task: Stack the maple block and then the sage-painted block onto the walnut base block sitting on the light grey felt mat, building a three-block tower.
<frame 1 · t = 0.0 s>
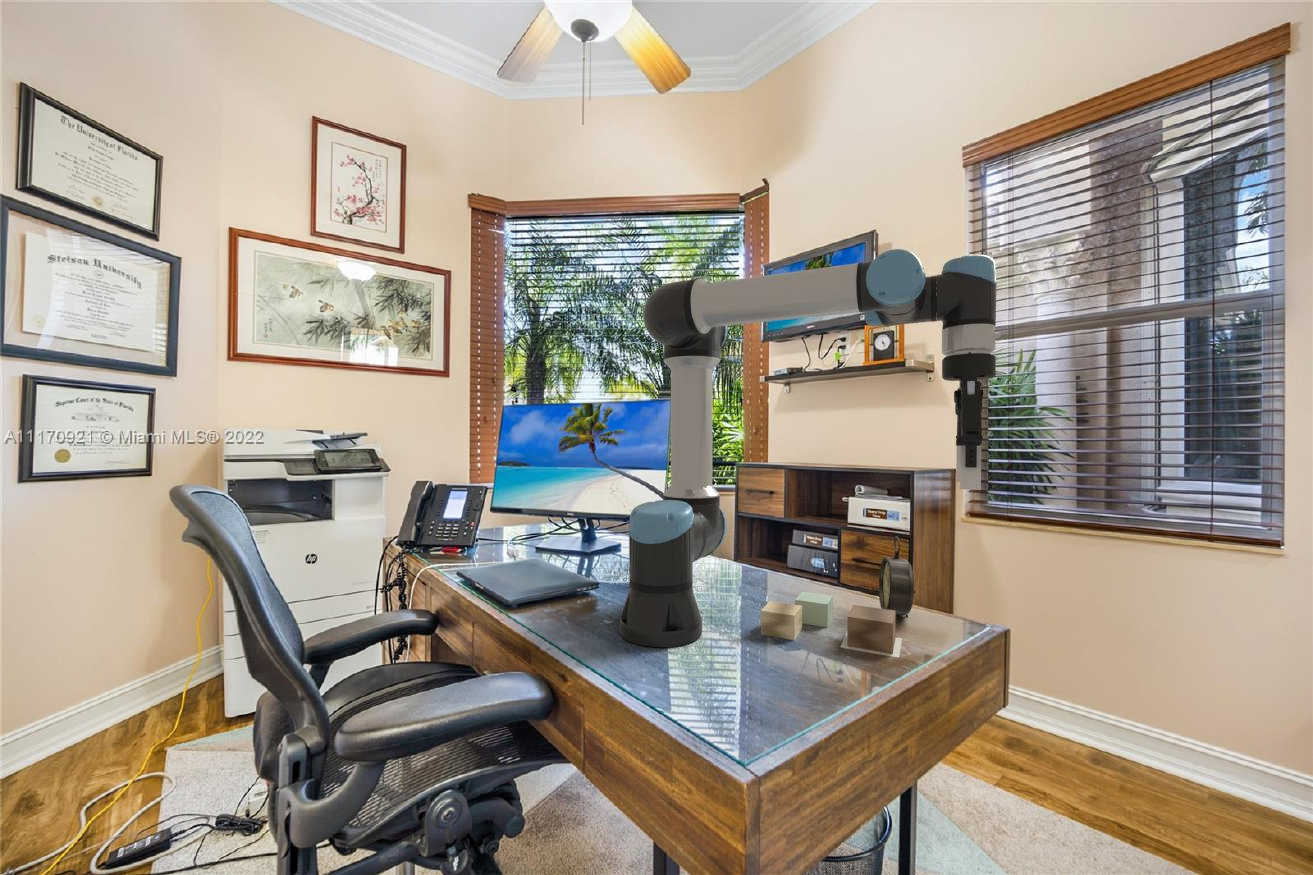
hand: (967, 485, 86), 28 cm above the table, fingers open, 13 cm apart
walnut brick: (871, 642, 91), point 1 cm above the table, touching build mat
maple brick: (781, 635, 96), on the table
alarm clock: (896, 619, 104), on the table
sage brick: (814, 623, 102), on the table
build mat: (871, 646, 91), on the table
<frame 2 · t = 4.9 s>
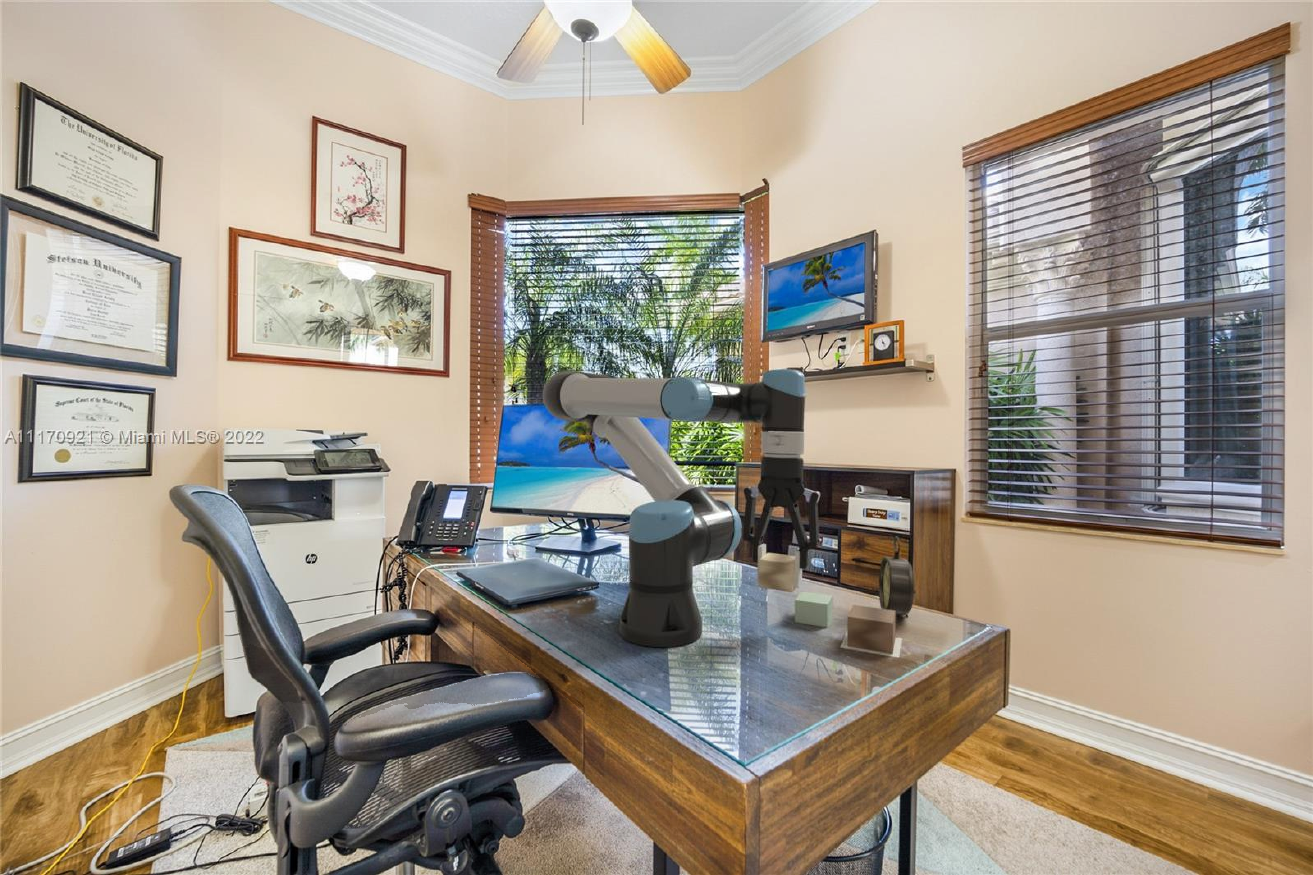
hand: (779, 582, 96), 9 cm above the table, fingers closed on maple brick, 6 cm apart
maple brick: (779, 585, 96), point 9 cm above the table, touching gripper
everything else where it was.
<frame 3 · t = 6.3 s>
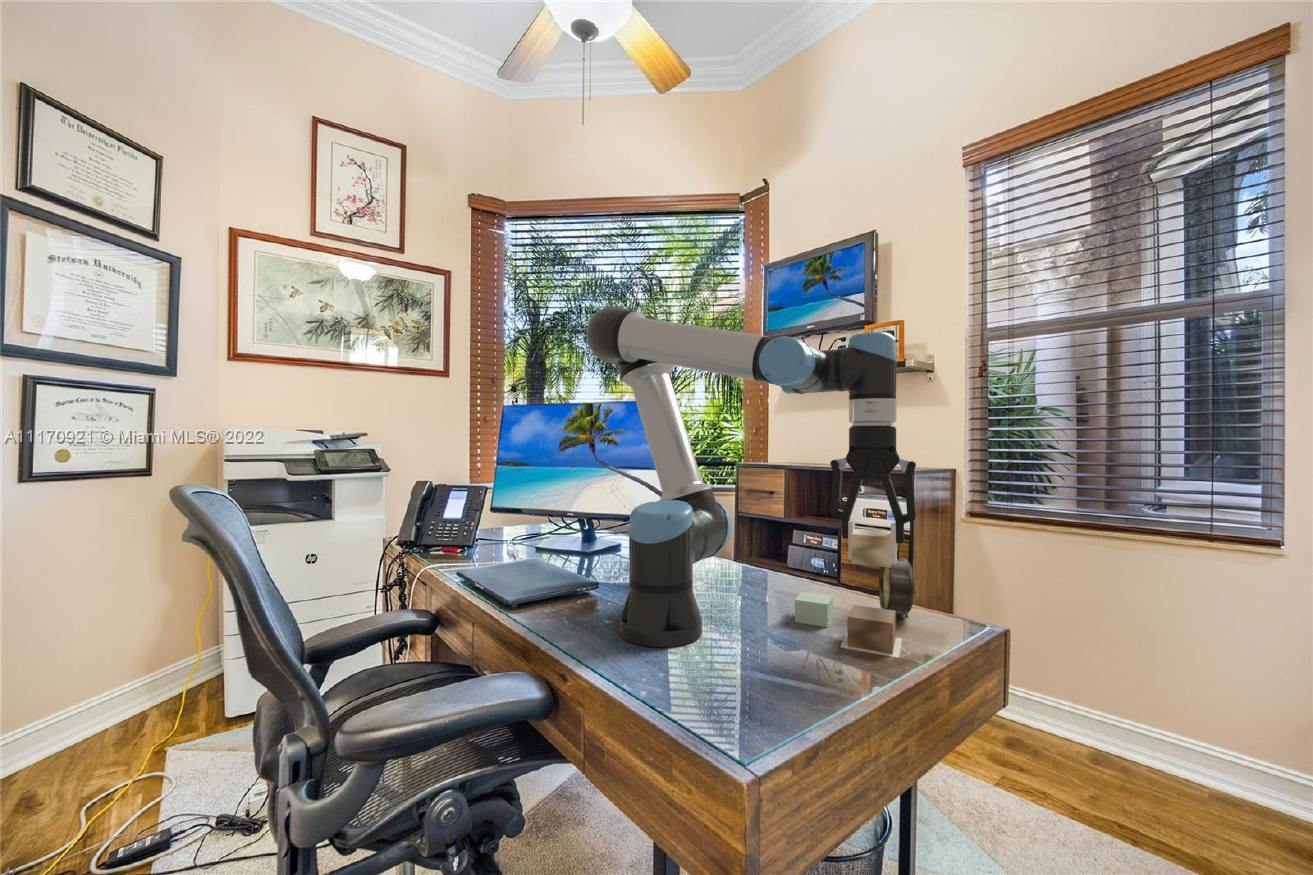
hand: (872, 559, 91), 15 cm above the table, fingers closed on maple brick, 6 cm apart
maple brick: (872, 561, 91), point 14 cm above the table, touching gripper
everything else where it was.
when the fingers open (6 cm above the table, at t = 8.3 s): maple brick stays where it is, point 6 cm above the table.
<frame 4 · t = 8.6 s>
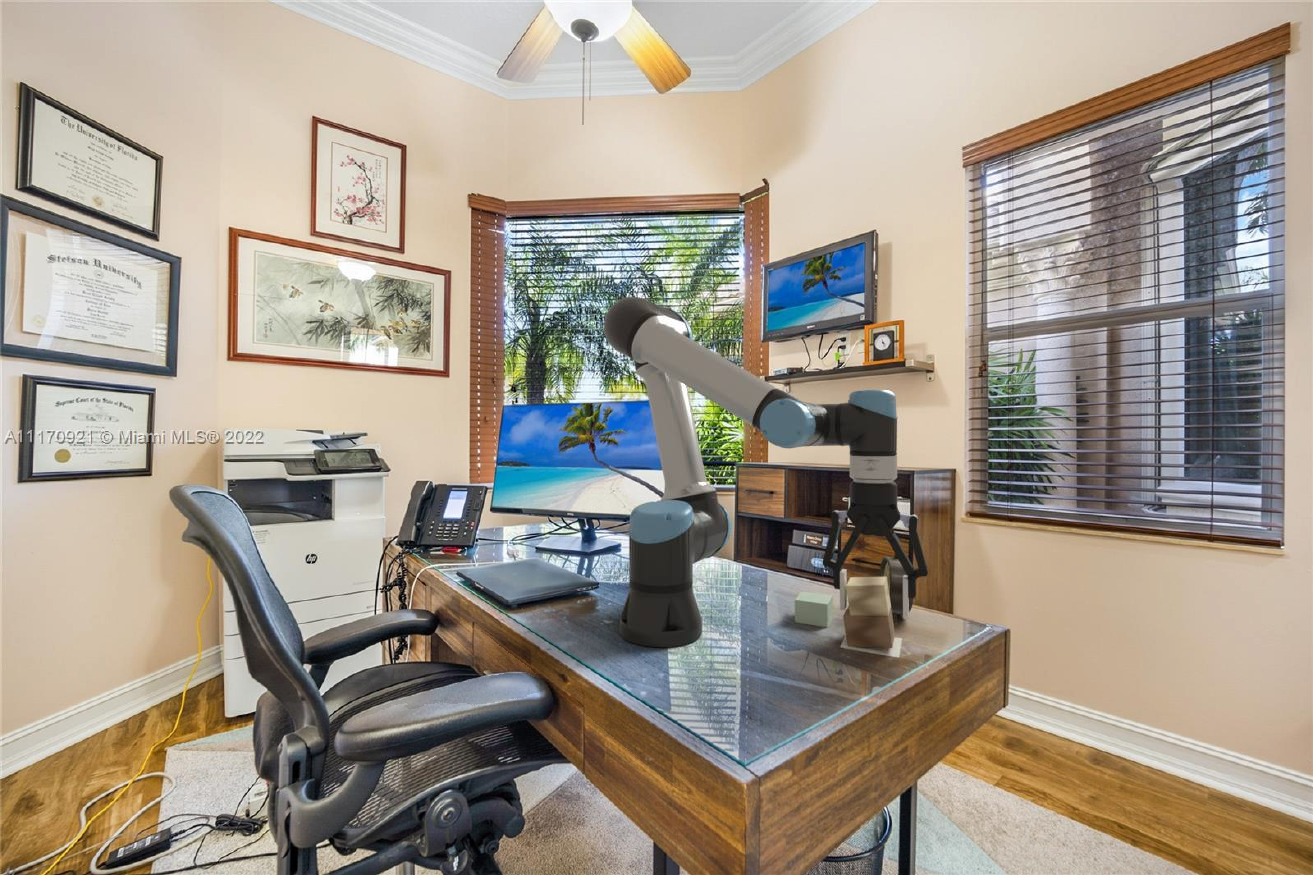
hand: (873, 612, 91), 6 cm above the table, fingers open, 9 cm apart
walnut brick: (871, 639, 91), point 1 cm above the table, tilted 8°, touching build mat
maple brick: (870, 610, 91), point 6 cm above the table, tilted 8°
everything else where it was.
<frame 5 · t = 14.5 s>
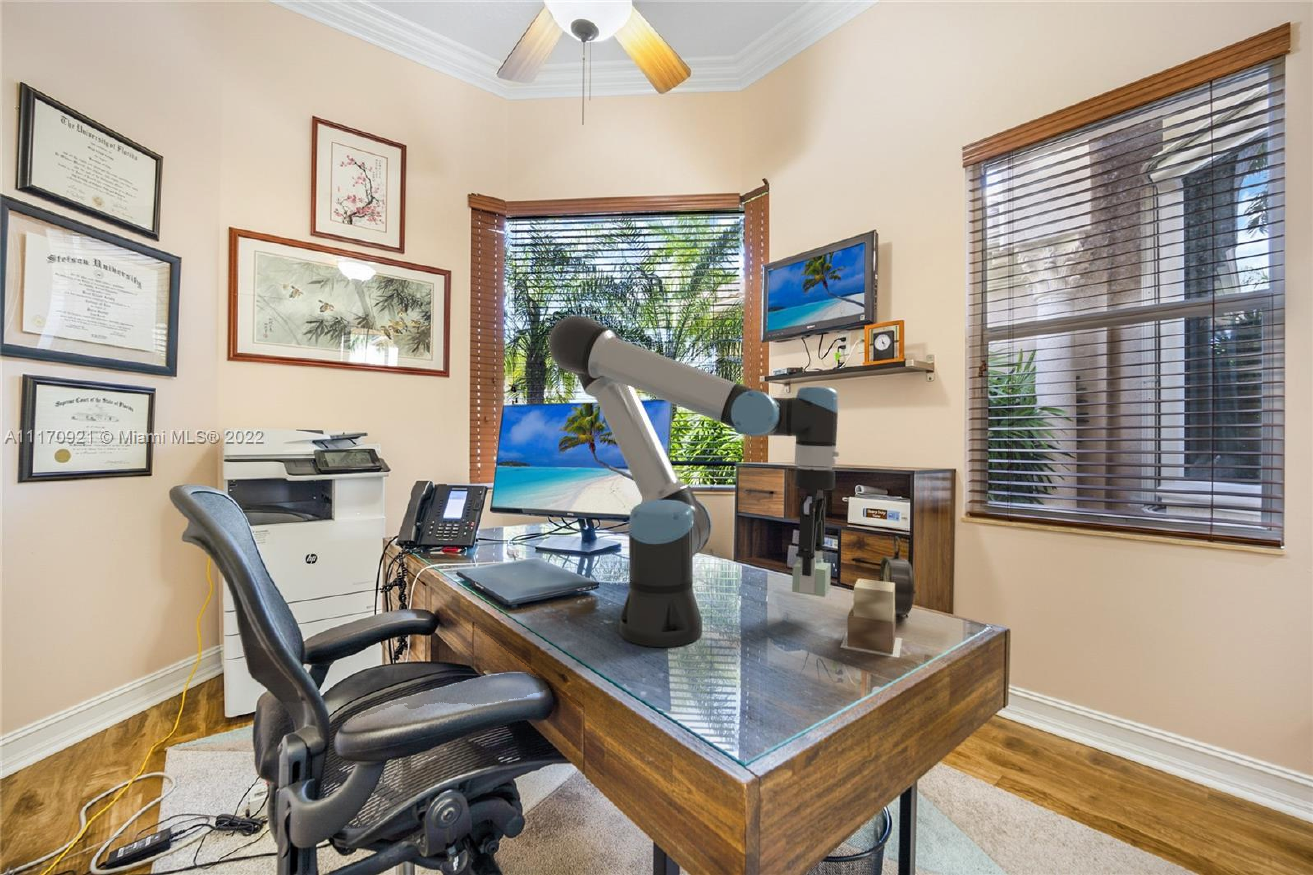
hand: (810, 587, 102), 7 cm above the table, fingers closed on sage brick, 6 cm apart
walnut brick: (871, 642, 91), point 1 cm above the table, touching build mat, maple brick
maple brick: (874, 614, 90), point 6 cm above the table, touching walnut brick
sage brick: (811, 590, 102), point 6 cm above the table, touching gripper
everything else where it was.
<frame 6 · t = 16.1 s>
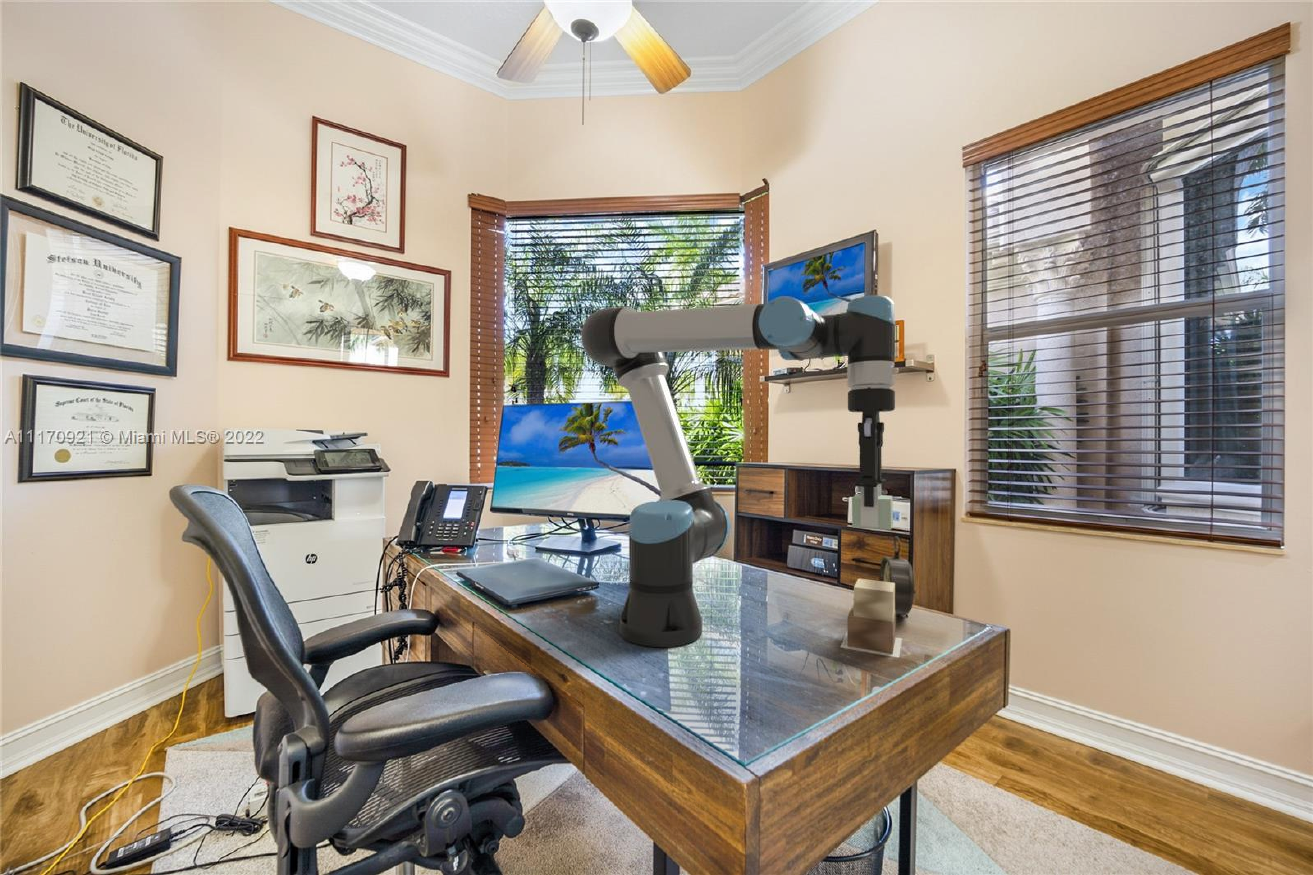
hand: (871, 523, 91), 21 cm above the table, fingers closed on sage brick, 6 cm apart
sage brick: (872, 526, 91), point 21 cm above the table, touching gripper
everything else where it was.
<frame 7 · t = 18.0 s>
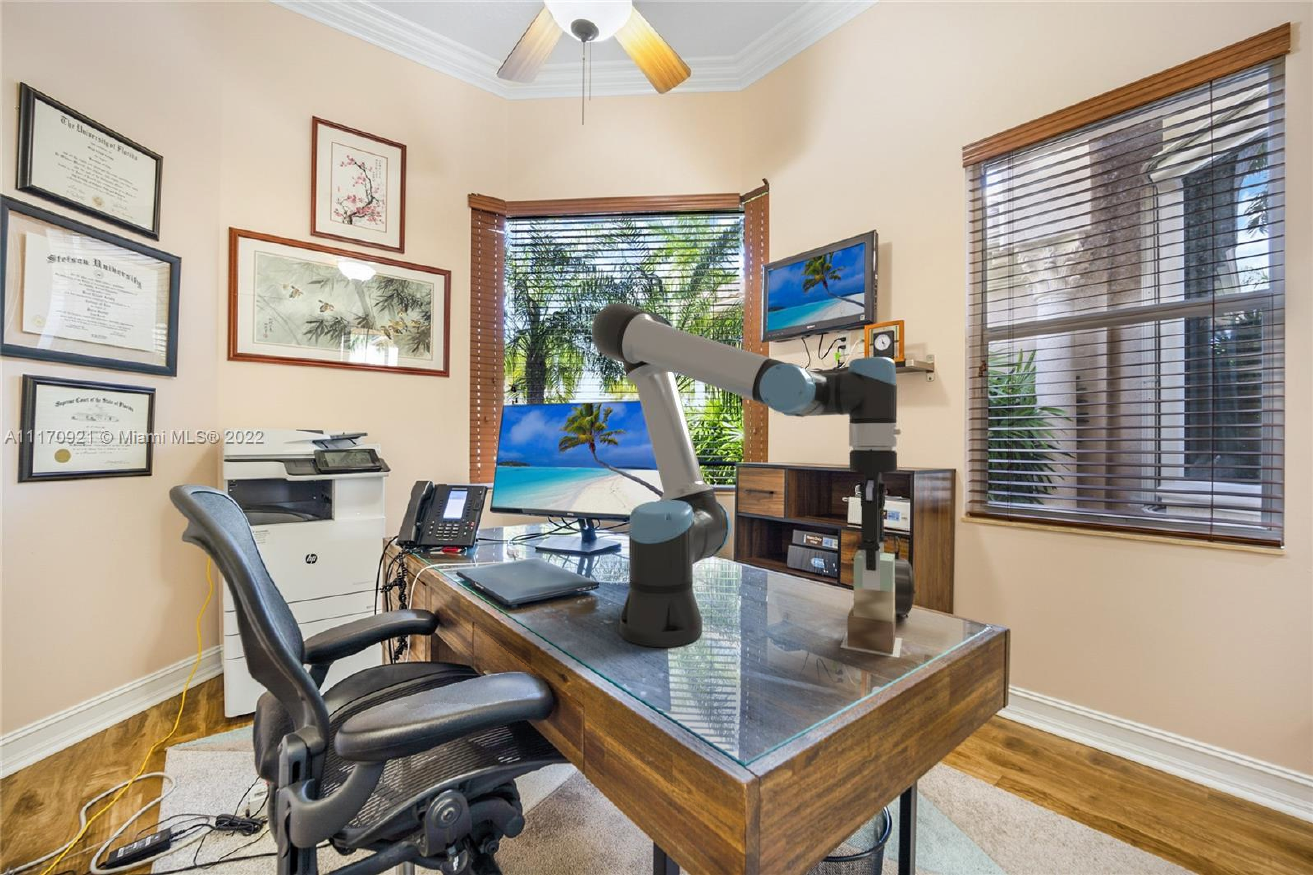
hand: (873, 583, 91), 11 cm above the table, fingers closed on maple brick, sage brick, 6 cm apart
maple brick: (874, 614, 90), point 6 cm above the table, touching gripper, sage brick, walnut brick
sage brick: (874, 584, 90), point 11 cm above the table, touching gripper, maple brick
everything else where it was.
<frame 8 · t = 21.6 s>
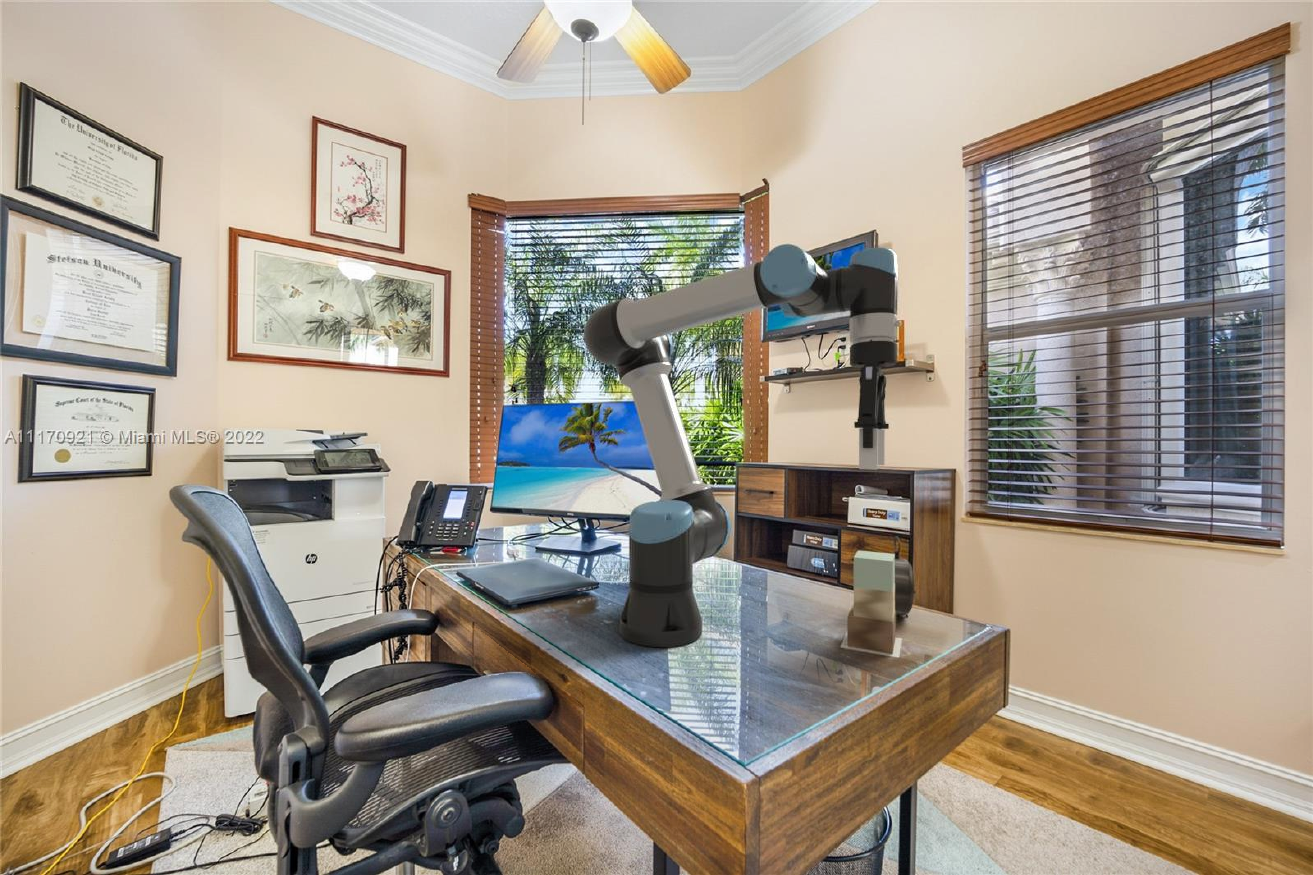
hand: (872, 467, 91), 31 cm above the table, fingers open, 13 cm apart
maple brick: (874, 614, 90), point 6 cm above the table, touching sage brick, walnut brick
sage brick: (874, 584, 90), point 11 cm above the table, touching maple brick
everything else where it was.
at the end: maple brick 0.4 cm off-centre on the walnut brick, point 5.0 cm above the walnut brick's base; sage brick 0.4 cm off-centre on the walnut brick, point 10.0 cm above the walnut brick's base; sage brick tilted 0° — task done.
